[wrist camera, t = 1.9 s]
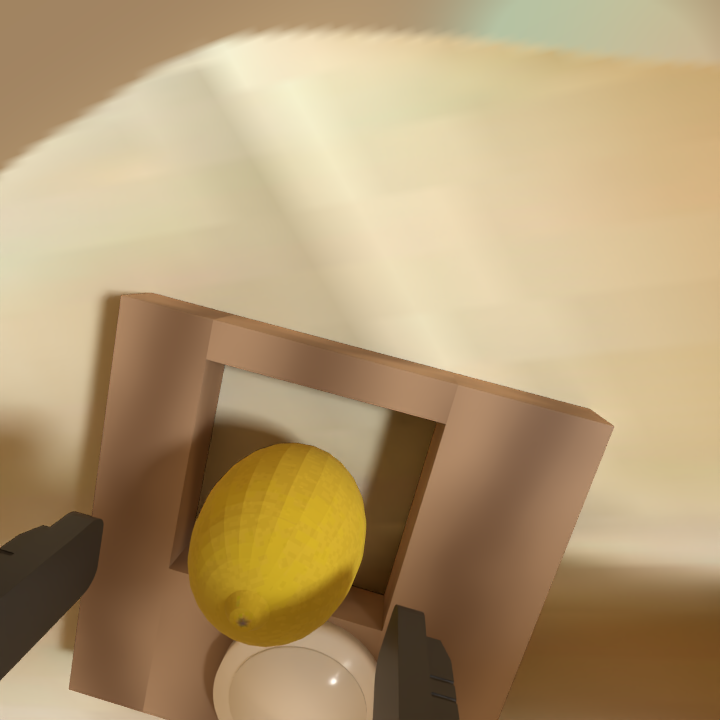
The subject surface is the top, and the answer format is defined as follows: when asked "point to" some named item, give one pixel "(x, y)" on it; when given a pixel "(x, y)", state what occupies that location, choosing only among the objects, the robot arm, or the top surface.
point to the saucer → (297, 679)
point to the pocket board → (360, 607)
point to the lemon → (277, 545)
